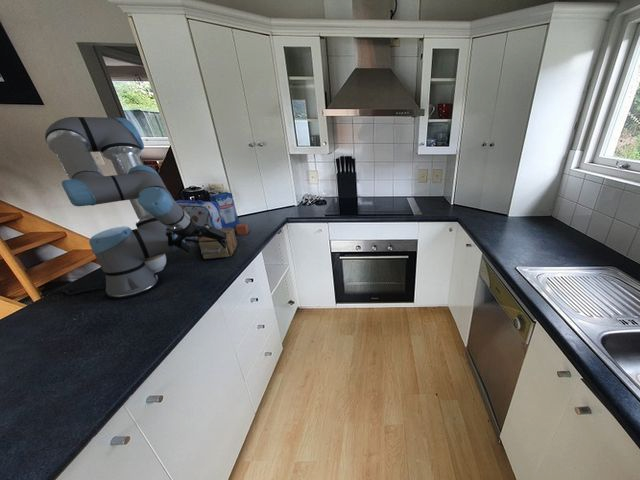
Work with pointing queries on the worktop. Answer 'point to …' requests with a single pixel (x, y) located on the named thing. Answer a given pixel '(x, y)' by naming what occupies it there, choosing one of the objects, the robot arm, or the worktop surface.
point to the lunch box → (202, 213)
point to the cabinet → (230, 239)
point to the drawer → (213, 249)
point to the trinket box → (156, 263)
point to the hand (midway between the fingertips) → (207, 247)
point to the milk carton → (226, 208)
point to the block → (242, 229)
